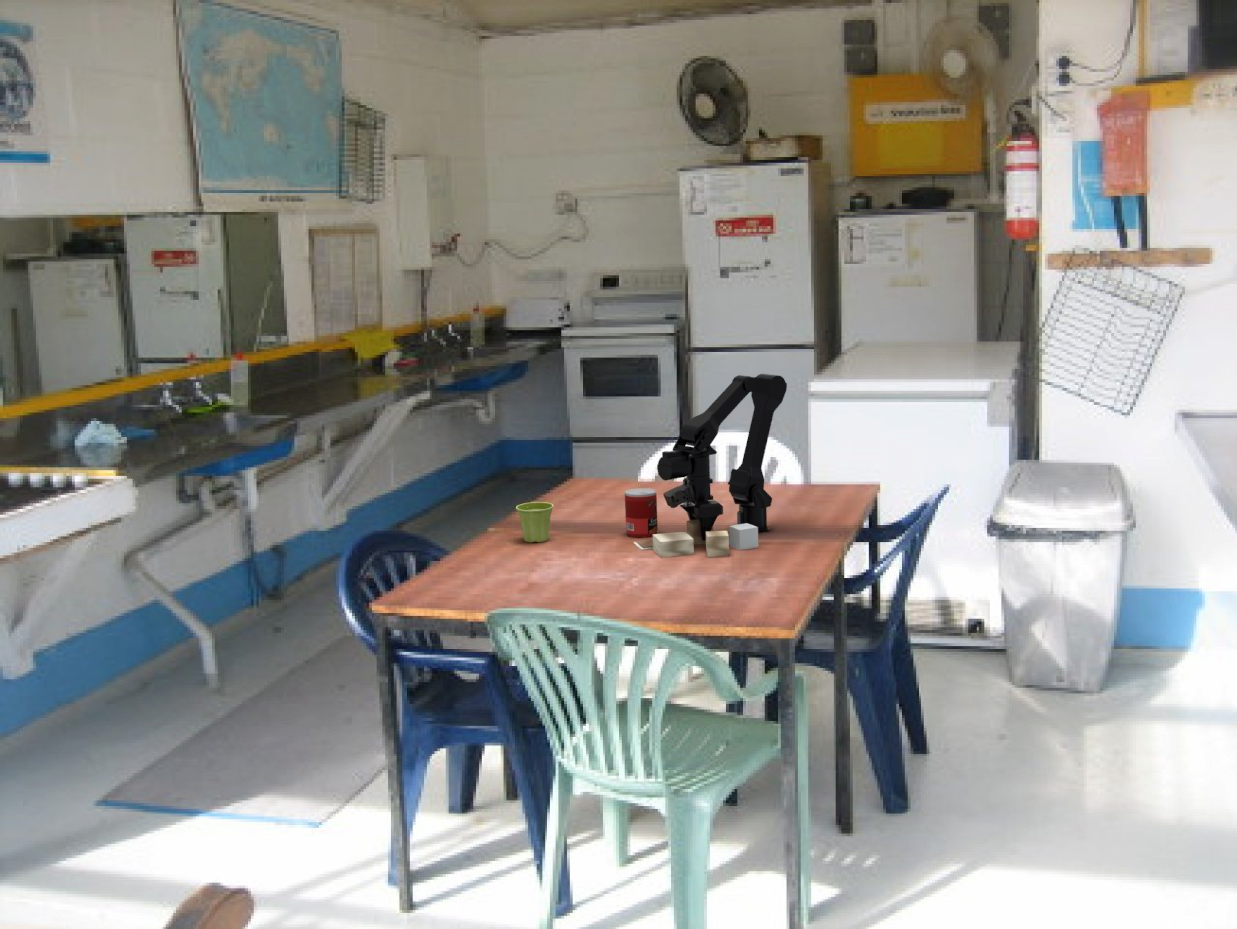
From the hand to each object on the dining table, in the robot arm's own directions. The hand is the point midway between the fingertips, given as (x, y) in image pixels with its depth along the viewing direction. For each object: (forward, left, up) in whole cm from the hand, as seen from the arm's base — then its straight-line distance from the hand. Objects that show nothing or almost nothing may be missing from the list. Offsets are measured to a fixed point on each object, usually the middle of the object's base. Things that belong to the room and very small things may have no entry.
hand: (700, 537), depth 323 cm
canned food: (+11, -13, -1) cm, 17 cm away
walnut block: (0, 0, -1) cm, 1 cm away
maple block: (0, +13, -1) cm, 13 cm away
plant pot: (+37, -18, -1) cm, 41 cm away
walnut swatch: (+12, -1, -1) cm, 12 cm away
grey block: (-8, +9, -1) cm, 12 cm away
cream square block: (+9, +7, -1) cm, 11 cm away
